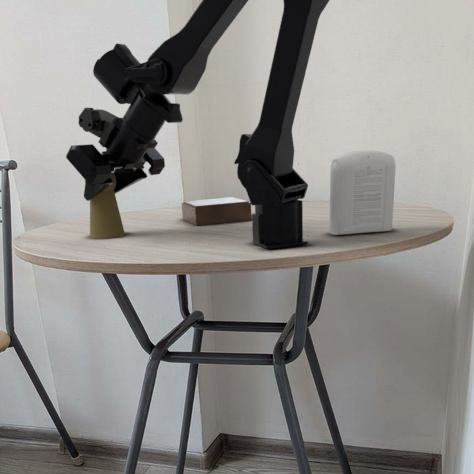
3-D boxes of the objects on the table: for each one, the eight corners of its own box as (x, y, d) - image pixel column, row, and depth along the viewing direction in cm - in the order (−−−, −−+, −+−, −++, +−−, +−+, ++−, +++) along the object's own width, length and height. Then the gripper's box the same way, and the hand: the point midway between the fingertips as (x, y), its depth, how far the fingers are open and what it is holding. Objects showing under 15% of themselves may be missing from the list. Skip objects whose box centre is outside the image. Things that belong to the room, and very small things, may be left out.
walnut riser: (234, 214, 120) (233, 196, 119) (251, 220, 111) (250, 201, 110) (182, 219, 117) (181, 201, 116) (196, 225, 108) (194, 206, 107)
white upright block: (384, 227, 96) (387, 148, 92) (396, 231, 92) (400, 149, 88) (325, 233, 94) (325, 152, 90) (335, 237, 90) (336, 153, 86)
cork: (83, 238, 101) (74, 172, 97) (101, 232, 106) (92, 169, 102) (114, 238, 99) (106, 171, 95) (130, 232, 104) (123, 168, 100)
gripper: (144, 90, 100) (103, 159, 109) (65, 86, 85) (25, 167, 94) (186, 137, 99) (141, 203, 108) (114, 142, 84) (69, 218, 93)
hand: (96, 197), depth 101 cm, fingers closed on cork, 5 cm apart
